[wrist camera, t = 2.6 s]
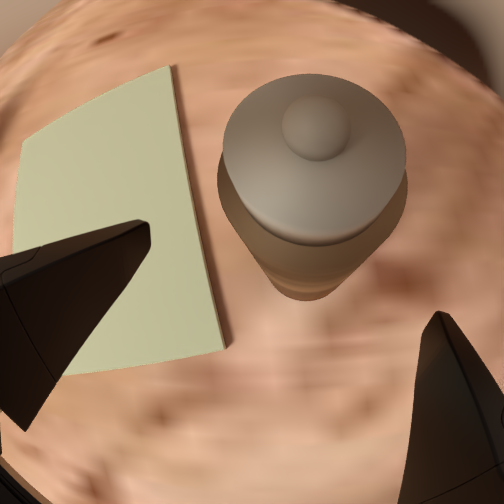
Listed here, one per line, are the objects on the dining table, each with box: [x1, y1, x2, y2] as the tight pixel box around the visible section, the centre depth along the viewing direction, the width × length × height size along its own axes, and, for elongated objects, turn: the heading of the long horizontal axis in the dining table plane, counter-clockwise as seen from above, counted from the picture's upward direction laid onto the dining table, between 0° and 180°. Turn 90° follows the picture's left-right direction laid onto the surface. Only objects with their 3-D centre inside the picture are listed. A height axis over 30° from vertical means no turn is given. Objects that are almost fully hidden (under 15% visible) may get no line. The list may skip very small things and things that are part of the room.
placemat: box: [13, 65, 226, 376], centre depth 22 cm, size 24×18×1 cm
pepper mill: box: [217, 74, 407, 301], centre depth 12 cm, size 5×5×14 cm
